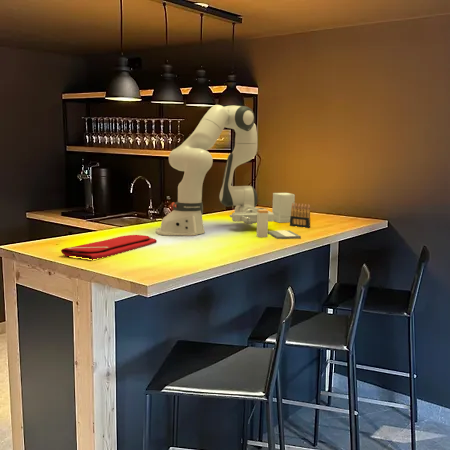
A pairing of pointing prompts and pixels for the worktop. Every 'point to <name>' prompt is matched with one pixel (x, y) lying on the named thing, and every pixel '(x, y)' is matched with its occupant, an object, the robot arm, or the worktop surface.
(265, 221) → the orange-capped beige pillar
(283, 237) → the board
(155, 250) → the worktop surface
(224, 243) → the worktop surface
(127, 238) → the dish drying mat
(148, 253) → the worktop surface
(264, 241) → the worktop surface
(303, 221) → the ammunition clip
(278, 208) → the supplement box
